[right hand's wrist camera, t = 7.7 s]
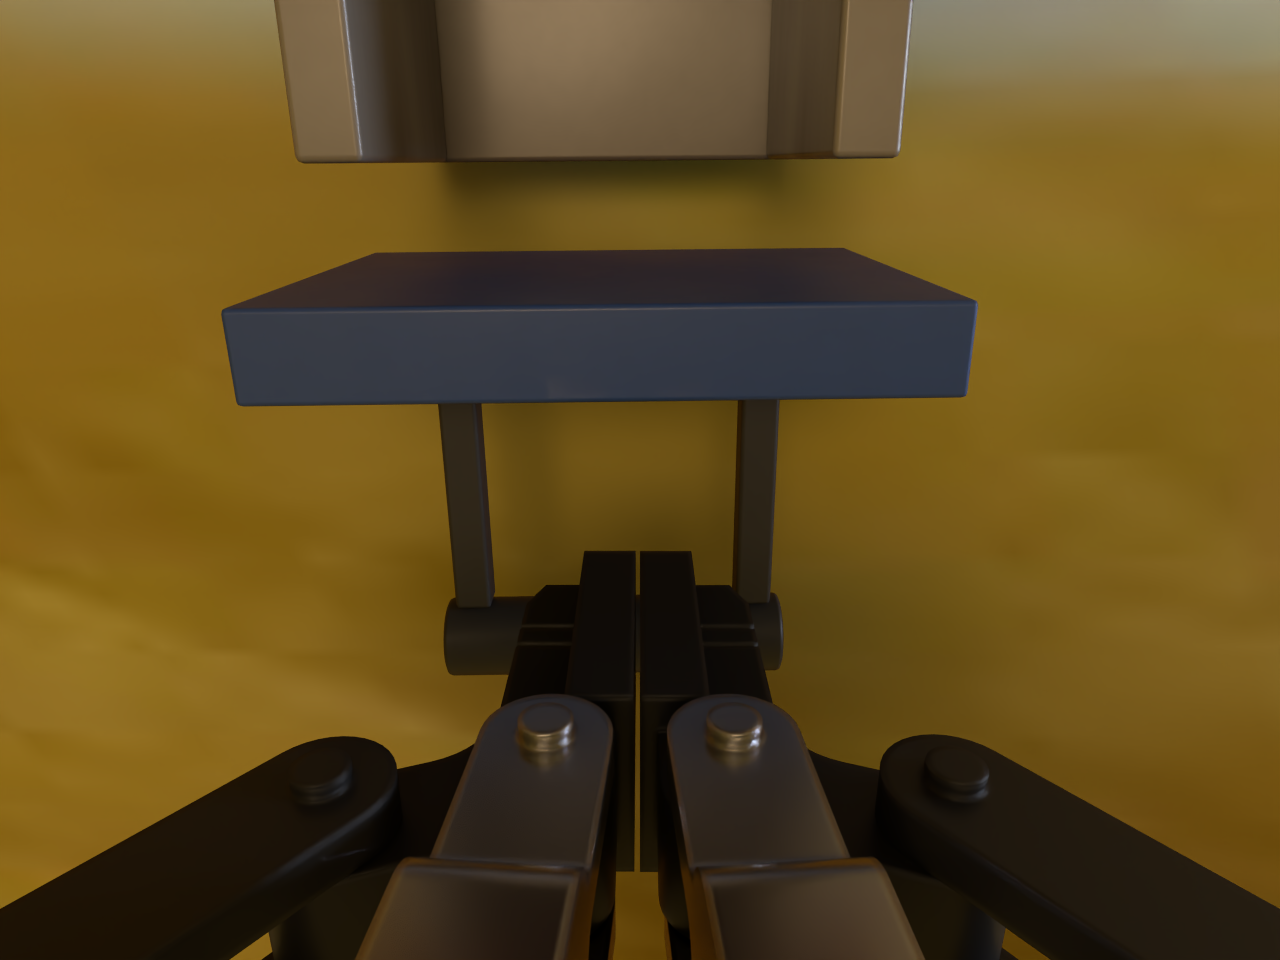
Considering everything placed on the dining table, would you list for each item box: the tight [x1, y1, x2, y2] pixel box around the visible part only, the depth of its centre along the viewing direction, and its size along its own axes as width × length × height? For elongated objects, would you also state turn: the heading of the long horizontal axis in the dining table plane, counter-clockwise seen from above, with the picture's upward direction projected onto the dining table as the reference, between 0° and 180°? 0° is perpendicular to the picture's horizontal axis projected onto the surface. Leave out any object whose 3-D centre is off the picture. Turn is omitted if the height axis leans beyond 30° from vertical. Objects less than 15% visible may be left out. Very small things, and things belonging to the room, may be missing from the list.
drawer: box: [221, 0, 978, 675], centre depth 12 cm, size 20×9×7 cm, turn 0°
